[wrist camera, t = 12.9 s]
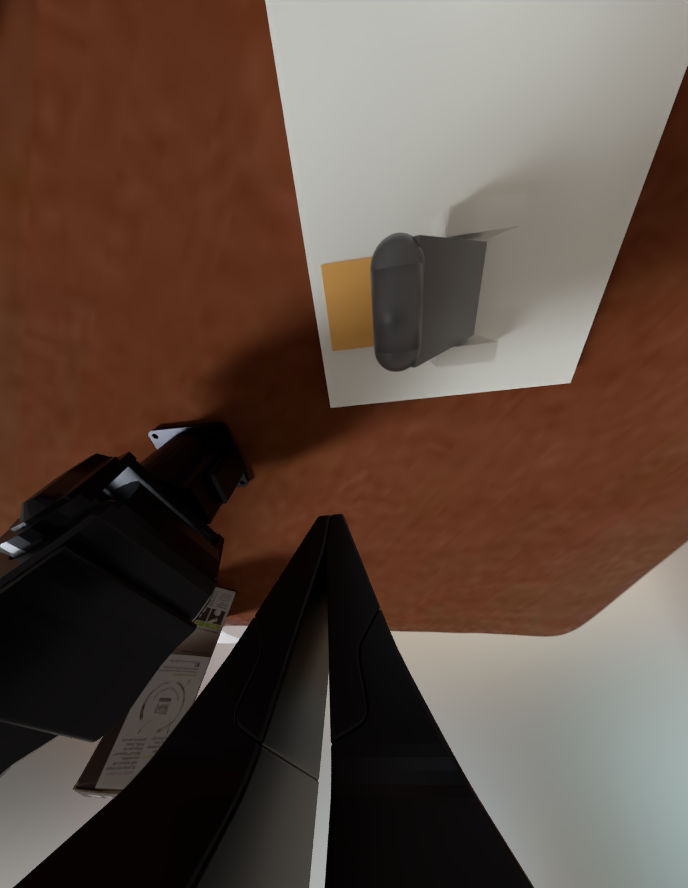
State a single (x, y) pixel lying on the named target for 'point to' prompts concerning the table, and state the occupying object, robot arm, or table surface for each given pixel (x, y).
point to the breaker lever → (423, 296)
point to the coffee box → (156, 707)
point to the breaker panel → (472, 165)
